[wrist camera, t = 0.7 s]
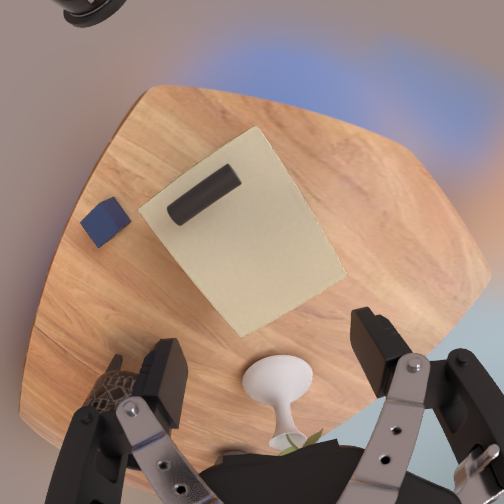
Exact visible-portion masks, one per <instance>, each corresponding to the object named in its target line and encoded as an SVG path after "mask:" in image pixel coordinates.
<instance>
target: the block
mask: <svg viewBox="0 0 504 504" xmlns="http://www.w3.org/2000/svg"><path fill="white" fill-rule="evenodd" d="M130 222H131V220H130V219H129V217H128V216H127V215H126V213H125V212H124V210H123V209H122V208H121V206H120V205H119V203H118V202H117V201H116V199H115V198H114V197H112V198H110V199H108V200H105V201H103V202H101V203H99V204H98V205H97V206H96V207H95V208H94V209H93V210H92V211H91V212H90V213H89V214H88V215H87V216H86V217H85V218H84V219H83V220H82V221H81V222H80V223H81V225H82V226H83V228H84V229H85V231H86V232H87V233H88V235H89V236H90V238H91V239H92V240H93V242H94V243H95V244H96V246H97V247H98V248H100V247H101V246H102V245H104V244H105V243H106V242H107V241H109V240H110V239H111V238H113V237H114V236H115V235H116V234H117V233H118V232H119V231H121V230H122V229H123V228H124V227H125V226H126V225H128V224H129V223H130Z"/></svg>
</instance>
